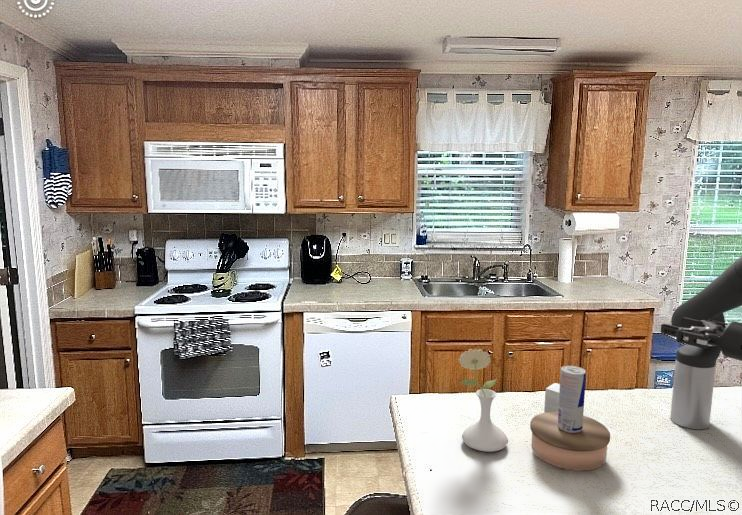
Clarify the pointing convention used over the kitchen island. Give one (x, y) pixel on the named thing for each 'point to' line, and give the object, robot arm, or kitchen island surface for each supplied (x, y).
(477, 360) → the flower in vase
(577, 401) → the beverage can
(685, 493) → the kitchen island surface
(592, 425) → the lidded bowl
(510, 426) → the kitchen island surface
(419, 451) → the kitchen island surface
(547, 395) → the product box
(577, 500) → the kitchen island surface
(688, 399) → the robot arm
